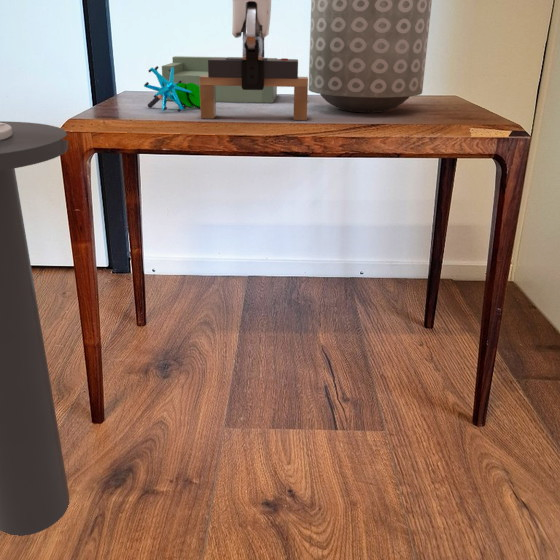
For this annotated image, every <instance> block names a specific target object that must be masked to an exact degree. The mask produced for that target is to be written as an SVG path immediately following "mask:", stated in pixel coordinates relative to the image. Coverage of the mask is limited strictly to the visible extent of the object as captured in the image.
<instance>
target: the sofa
mask: <svg viewBox="0 0 560 560" xmlns="http://www.w3.org/2000/svg"><path fill="white" fill-rule="evenodd" d="M227 57H228V56H185V55H183V56H181V55H178V56H177V55H174V56H172V57H171V58H172V62H170V63H167V64H164V65H161V75H162V76H163V77H164V78H165V79H166V80H167V81H169V78H170V72H169V70H170V69H171V68H172V67H173V68H174V81H173V82H174V83H175V84H176V83H178V82H179V81H182V83H185V84H188V83H194V84H196V85H198V86H199V87H200V82H199V77H200V76H202V75H208V60H209V59H211V58H227ZM267 58H268V59H278V57H267ZM165 86H166V85H165ZM215 87H216V103H252V104H253V103H254V104H256V103H257V104H274V102H275V100H276V98H277V96H278V87H273V86H264V88H263V90H243V89H242V86H215ZM170 93H171V91H170ZM171 94H172V93H171ZM167 102H174V101H173V100H172V99H170V98H169V97H168V96H167Z"/></svg>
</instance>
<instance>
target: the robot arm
mask: <svg viewBox="0 0 560 560" xmlns="http://www.w3.org/2000/svg"><path fill="white" fill-rule="evenodd" d="M271 12H272V0H232V22H231V23H232V29H231V33H232V36H233V37H234V38H235V39H239V38H241V37H242V38H241V39H242V57H243V60H241V69H242V89H243V90H263V88H264V61H262V58H265V38H266V37H267V36H269V33H270V25H271V15H272V13H271ZM12 134H13V133H12V127H11V126H10V125H8V124H4V123H0V141H1V140H4V139H7V138H9V137H11V136H12Z"/></svg>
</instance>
